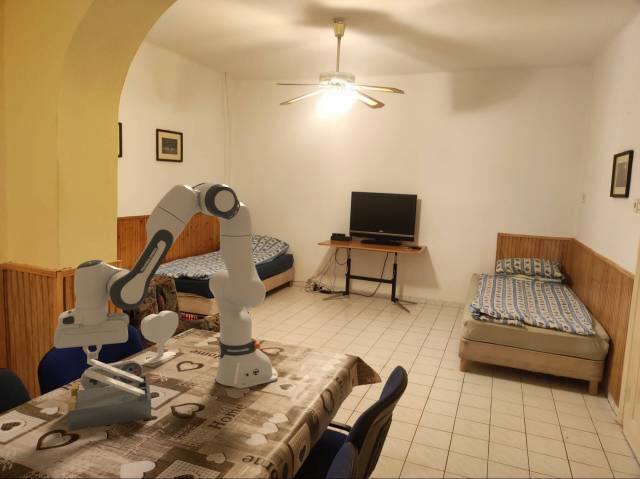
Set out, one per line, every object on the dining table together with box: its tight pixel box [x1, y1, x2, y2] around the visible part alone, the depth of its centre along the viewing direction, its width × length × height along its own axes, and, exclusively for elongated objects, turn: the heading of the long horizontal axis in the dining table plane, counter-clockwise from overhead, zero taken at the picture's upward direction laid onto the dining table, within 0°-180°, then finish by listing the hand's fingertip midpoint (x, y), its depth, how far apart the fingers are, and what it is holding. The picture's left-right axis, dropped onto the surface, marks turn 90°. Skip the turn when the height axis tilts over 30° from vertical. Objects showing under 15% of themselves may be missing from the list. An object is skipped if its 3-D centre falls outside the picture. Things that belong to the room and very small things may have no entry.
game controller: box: [80, 359, 144, 390], centre depth 162 cm, size 20×2×8 cm, turn 124°
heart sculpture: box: [140, 310, 179, 364], centre depth 189 cm, size 16×5×18 cm, turn 148°
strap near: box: [84, 368, 145, 396], centre depth 140 cm, size 18×3×1 cm, turn 114°
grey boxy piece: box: [67, 374, 152, 432], centre depth 144 cm, size 22×15×8 cm
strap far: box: [86, 359, 144, 383], centre depth 148 cm, size 18×3×1 cm, turn 114°
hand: (92, 358), depth 145 cm, fingers closed
